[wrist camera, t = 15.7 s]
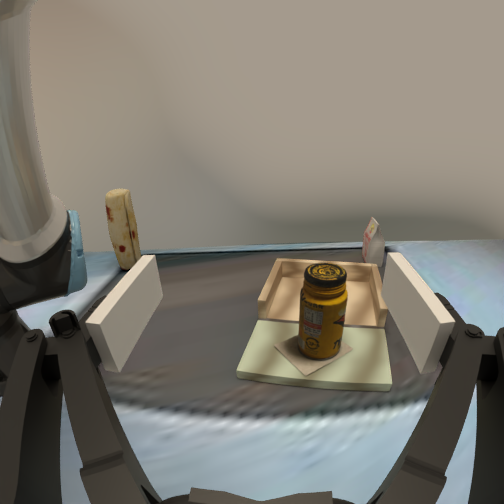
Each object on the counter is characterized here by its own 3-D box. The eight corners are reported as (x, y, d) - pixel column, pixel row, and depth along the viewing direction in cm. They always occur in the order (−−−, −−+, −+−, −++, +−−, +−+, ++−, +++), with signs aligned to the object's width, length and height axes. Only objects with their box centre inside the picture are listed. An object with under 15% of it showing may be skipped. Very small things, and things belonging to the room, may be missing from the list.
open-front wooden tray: (237, 378, 37) (234, 350, 35) (277, 280, 62) (277, 258, 60) (389, 391, 32) (399, 363, 30) (373, 286, 56) (376, 263, 54)
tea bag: (375, 255, 70) (379, 216, 67) (382, 266, 64) (386, 225, 60) (362, 254, 71) (365, 216, 67) (367, 266, 65) (371, 225, 61)
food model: (125, 258, 77) (112, 187, 69) (147, 257, 77) (135, 184, 69) (113, 274, 68) (96, 195, 60) (136, 273, 68) (121, 191, 60)
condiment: (353, 349, 38) (365, 272, 33) (305, 376, 34) (311, 295, 30) (319, 325, 44) (324, 253, 39) (273, 346, 40) (272, 270, 36)
